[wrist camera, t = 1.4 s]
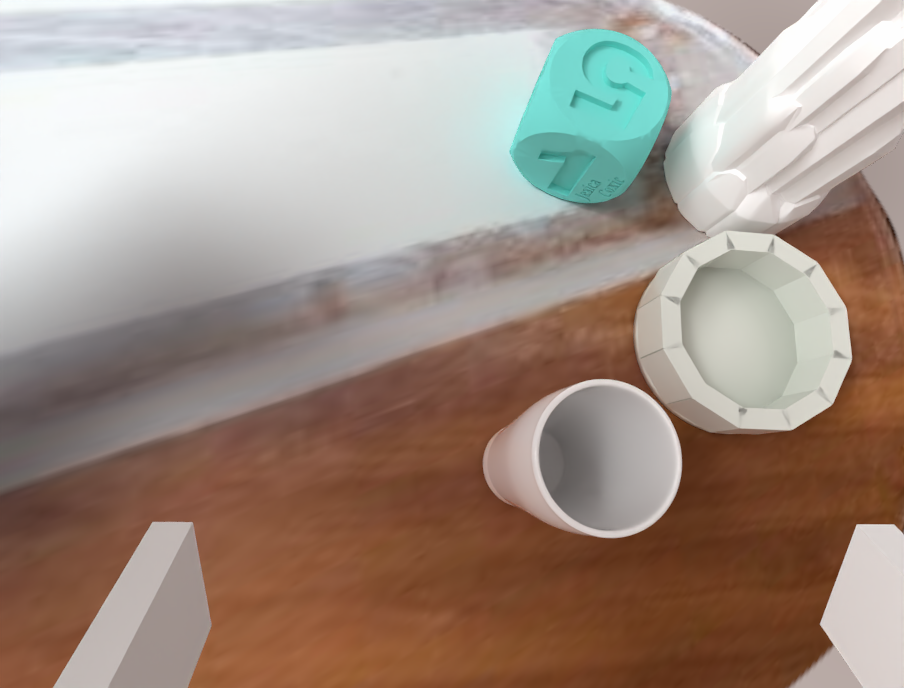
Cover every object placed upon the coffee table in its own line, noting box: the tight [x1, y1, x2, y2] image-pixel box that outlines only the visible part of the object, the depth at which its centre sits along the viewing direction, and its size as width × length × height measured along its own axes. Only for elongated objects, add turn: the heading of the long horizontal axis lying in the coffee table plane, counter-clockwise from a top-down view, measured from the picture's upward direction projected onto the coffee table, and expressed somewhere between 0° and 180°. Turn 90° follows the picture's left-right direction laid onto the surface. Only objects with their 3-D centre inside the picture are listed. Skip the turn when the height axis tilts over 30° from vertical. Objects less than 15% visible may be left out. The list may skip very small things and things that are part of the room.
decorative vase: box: [663, 0, 904, 238], centre depth 36 cm, size 11×11×25 cm
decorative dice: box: [510, 29, 671, 203], centre depth 42 cm, size 8×8×8 cm
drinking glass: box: [483, 379, 682, 538], centre depth 34 cm, size 7×7×15 cm
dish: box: [633, 231, 852, 434], centre depth 43 cm, size 13×13×4 cm
